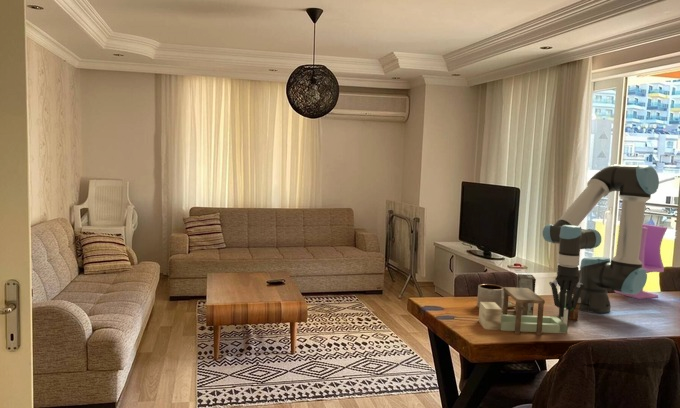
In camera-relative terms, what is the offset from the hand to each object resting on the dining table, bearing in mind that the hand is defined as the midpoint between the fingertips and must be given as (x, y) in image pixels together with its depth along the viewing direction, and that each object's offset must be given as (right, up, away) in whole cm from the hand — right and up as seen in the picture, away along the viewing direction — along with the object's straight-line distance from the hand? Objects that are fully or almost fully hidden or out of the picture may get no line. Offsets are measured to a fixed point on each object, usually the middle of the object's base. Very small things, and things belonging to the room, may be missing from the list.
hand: (563, 325), depth 210 cm
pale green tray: (-13, -1, +1) cm, 13 cm away
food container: (+7, -1, +16) cm, 18 cm away
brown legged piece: (-16, -1, +1) cm, 16 cm away
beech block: (-29, 0, +1) cm, 29 cm away
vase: (+61, +1, +60) cm, 86 cm away
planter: (-22, +1, +26) cm, 34 cm away
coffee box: (-9, 0, +19) cm, 21 cm away
